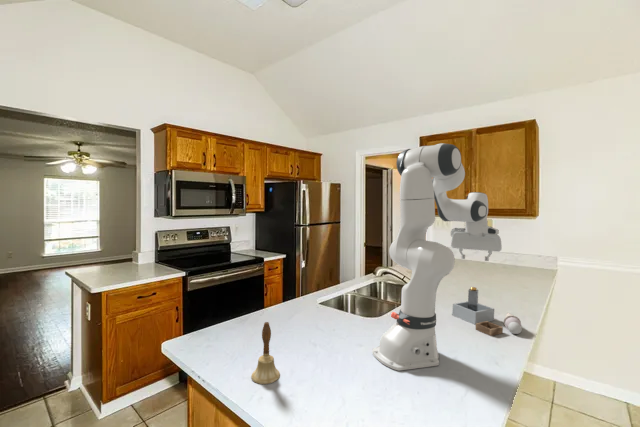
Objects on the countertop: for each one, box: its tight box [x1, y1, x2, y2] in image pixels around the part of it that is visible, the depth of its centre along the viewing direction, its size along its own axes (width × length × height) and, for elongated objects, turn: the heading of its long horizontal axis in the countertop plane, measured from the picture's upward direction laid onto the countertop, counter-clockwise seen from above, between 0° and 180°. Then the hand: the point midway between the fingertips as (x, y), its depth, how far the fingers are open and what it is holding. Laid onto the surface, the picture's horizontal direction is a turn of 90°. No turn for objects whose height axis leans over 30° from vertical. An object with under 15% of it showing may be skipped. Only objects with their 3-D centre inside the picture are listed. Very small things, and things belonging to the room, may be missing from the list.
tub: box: [451, 300, 495, 326], centre depth 141 cm, size 12×12×5 cm
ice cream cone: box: [503, 312, 522, 335], centre depth 129 cm, size 6×6×15 cm
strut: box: [467, 286, 479, 312], centre depth 141 cm, size 4×4×13 cm
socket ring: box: [475, 321, 504, 337], centre depth 126 cm, size 7×7×2 cm
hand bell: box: [250, 321, 281, 385], centre depth 91 cm, size 8×8×16 cm
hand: (474, 259), depth 140 cm, fingers open, 8 cm apart
